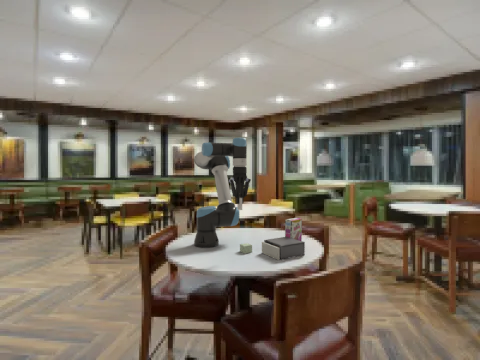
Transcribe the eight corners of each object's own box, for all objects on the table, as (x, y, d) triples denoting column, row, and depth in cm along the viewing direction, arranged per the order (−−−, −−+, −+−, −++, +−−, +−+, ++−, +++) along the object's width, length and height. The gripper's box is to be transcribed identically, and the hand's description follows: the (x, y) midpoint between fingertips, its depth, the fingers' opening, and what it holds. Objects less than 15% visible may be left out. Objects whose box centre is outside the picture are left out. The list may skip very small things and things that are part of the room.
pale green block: (240, 251, 165) (239, 244, 165) (247, 249, 168) (247, 243, 167) (244, 253, 161) (244, 246, 161) (252, 252, 163) (252, 245, 163)
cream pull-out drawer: (284, 248, 169) (284, 238, 169) (301, 255, 156) (301, 244, 156) (261, 252, 161) (261, 242, 161) (277, 259, 149) (277, 248, 148)
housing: (286, 248, 170) (286, 236, 170) (304, 254, 157) (304, 242, 157) (264, 252, 162) (264, 240, 162) (280, 259, 149) (280, 246, 149)
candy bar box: (291, 248, 170) (291, 220, 170) (284, 246, 174) (284, 219, 173) (302, 245, 178) (302, 218, 177) (295, 243, 182) (295, 217, 181)
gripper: (232, 166, 152) (232, 211, 153) (253, 166, 158) (253, 209, 159) (225, 166, 158) (226, 209, 159) (246, 166, 165) (246, 208, 165)
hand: (239, 209), depth 159 cm, fingers closed
